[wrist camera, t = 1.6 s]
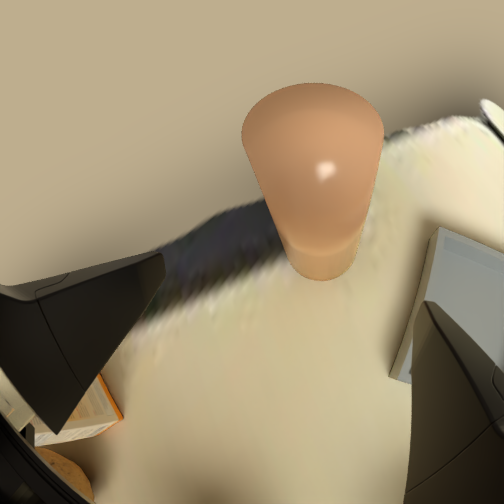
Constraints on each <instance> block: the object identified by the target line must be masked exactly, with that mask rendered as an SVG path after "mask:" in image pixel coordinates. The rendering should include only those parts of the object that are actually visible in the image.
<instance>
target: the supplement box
mask: <svg viewBox="0 0 504 504" xmlns="http://www.w3.org/2000/svg"><path fill="white" fill-rule="evenodd" d="M122 419H123V417H122V415H121V413H120V411H119V410H118V408H117V406H116V404H115V403H114V401H113V399H112V397H111V395H110V393H109V391H108V389H107V387H106V385H105V384H104V381H103V379H102V377H101V375H100V373H99V374H98V375H97V377H96V378H95V380H94V381H93V383H92V384H91V386H90V387H89V388H88V390H87V391H86V392H85V395H84V396H83V398H82V399H81V401H80V402H79V404H78V405H77V407H76V408H75V410H74V411H73V413H72V414H71V416H70V417H69V419H68V420H67V422H66V423H65V425H64V426H63V428H62V430H61V431H60V433H59V434H58V435H55V434H54V433H53V432H52V431H51V430H50V429H49V428H48V427H47V426H46V425H45V424H44V423H43V422H41V421H40V420H39V419H38V418H37V417H36V416H34V418H33V419H32V420H31V421H30V423H31V424H32V425H33V426H34V427H35V446H42V445H49V444H56V443H62V442H68V441H73V440H78V439H83V438H88V437H93V436H97V435H99V434H101V433H102V432H104V431H105V430H107V429H108V428H110V427H111V426H113V425H114V424H116V423H117V422H119V421H121V420H122Z"/></svg>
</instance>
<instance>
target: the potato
mask: <svg viewBox="0 0 504 504" xmlns="http://www.w3.org/2000/svg"><path fill="white" fill-rule="evenodd" d="M35 450H36V451H37V452H38V453H39V454H40V455H41V456H42V457H43V458H44V459H45V460H46V461H47V462H48V463H49V464H50V465H51V466H52V467H53V468H54V469H55V470H56V471H57V472H58V473H59V474H60V475H62V476H63V477H64V478H65V479H66V480H67V481H68V482H70V483H71V484H72V485H73V486H74V487H75V488H77V489H78V490H79V491H80V492H82V493H83V494H84V495H85V496H87V497H88V498H89V499H91V500H92V501H93V502H94V495H93V492H92V489H91V485H90V481H89V480H88V478H87V477H86V475H85V474H84V472H83V471H82V469H81V468H80V467H79V466H78V465H77V464H76V463H74V462H73V461H71V460H69V459H67V458H65V457H63V456H62V455H60V454H58V453H56V452H54V451H52V450H49V449H45V448H41V447H36V446H35Z"/></svg>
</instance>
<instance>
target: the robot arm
mask: <svg viewBox="0 0 504 504" xmlns="http://www.w3.org/2000/svg"><path fill="white" fill-rule="evenodd" d="M165 276H166V270H165V264H164V257H163V255H162V254H161V253H159V252H154V251H151V252H147V253H143V254H139V255H135V256H131V257H127V258H123V259H119V260H115V261H111V262H108V263H103V264H99V265H95V266H91V267H88V268H84V269H80V270H76V271H72V272H70V273H65V274H61V275H57V276H54V277H49V278H46V279H41V280H37V281H32V282H28V283H24V284H19V285H14V286H5V285H1V284H0V504H96V503H95V502H93V501H92V500H91V499H89V498H88V497H87V496H85V495H84V494H83V493H82V492H80V491H79V490H78V489H77V488H75V487H74V486H73V485H72V484H71V483H70V482H68V481H67V480H66V479H65V478H64V477H63V476H62V475H60V474H59V473H58V472H57V471H56V470H55V469H54V468H53V467H52V466H51V465H50V464H49V463H48V462H47V461H46V460H45V459H44V458H43V457H42V456H41V455H40V454H39V453H38V452H37V451H36V450H35V427H34V426H33V425H32V424H31V423H30V421H31V420H32V419H33V418H34V416H36V417H37V418H38V419H39V420H40V421H41V422H43V423H44V424H45V425H46V426H47V427H48V428H49V429H50V430H51V431H52V432H53V433H54V434H55V435H58V434H59V433H60V431H61V430H62V428H63V426H64V425H65V423H66V422H67V420H68V419H69V417H70V416H71V414H72V413H73V411H74V410H75V408H76V407H77V405H78V404H79V402H80V401H81V399H82V398H83V396H84V395H85V392H86V391H87V390H88V388H89V387H90V386H91V384H92V383H93V381H94V380H95V378H96V377H97V375H98V374H99V373H100V371H101V370H102V368H103V367H104V366H105V364H106V363H107V361H108V360H109V358H110V357H111V356H112V354H113V353H114V352H115V350H116V349H117V347H118V346H119V345H120V343H121V342H122V341H123V339H124V338H125V336H126V335H127V334H128V332H129V331H130V330H131V328H132V327H133V326H134V324H135V323H136V322H137V320H138V319H139V318H140V316H141V315H142V314H143V312H144V311H145V310H146V308H147V307H148V305H149V303H150V302H151V300H152V299H153V297H154V295H155V294H156V292H157V290H158V289H159V287H160V286H161V284H162V282H163V281H164V279H165ZM495 365H496V364H495V362H494V361H493V360H492V359H491V358H490V357H489V356H488V355H487V354H486V353H485V351H484V350H483V349H482V348H481V347H480V346H479V345H478V344H477V343H476V342H475V341H474V340H473V339H472V338H471V337H470V336H469V335H468V334H467V333H466V332H465V331H464V330H463V329H462V328H461V327H460V326H459V325H458V324H457V323H456V322H455V321H454V320H453V319H452V318H451V317H450V316H449V315H448V314H447V313H446V312H445V311H444V310H443V309H442V308H441V307H440V306H439V305H438V304H437V303H436V302H434V301H427V300H424V301H423V302H422V303H421V305H420V308H419V311H418V313H417V316H416V318H415V321H414V325H413V344H412V362H411V382H412V420H411V441H410V455H409V465H408V474H407V482H406V489H405V495H404V501H403V504H504V372H503V371H502V370H501V369H500V368H499V367H498V366H497V365H496V366H495Z"/></svg>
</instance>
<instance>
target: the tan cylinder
mask: <svg viewBox="0 0 504 504" xmlns="http://www.w3.org/2000/svg"><path fill="white" fill-rule="evenodd" d="M383 139H384V128H383V124H382V121H381V119H380V116H379V114H378V113H377V111H376V110H375V109H374V108H373V106H372V105H371V104H370V103H369V102H368V101H367V100H365V99H364V98H362V97H361V96H360V95H358V94H356V93H354V92H352V91H350V90H348V89H345V88H342V87H339V86H335V85H331V84H323V83H304V84H297V85H292V86H288V87H285V88H282V89H279V90H277V91H275V92H273V93H271V94H269V95H267V96H266V97H264V98H263V99H261V100H260V101H259V102H258V103H257V104H256V105H255V106H254V107H253V108H252V109H251V110H250V112H249V113H248V115H247V117H246V119H245V121H244V123H243V127H242V142H243V146H244V148H245V150H246V153H247V155H248V158H249V161H250V163H251V165H252V168H253V170H254V173H255V175H256V178H257V180H258V183H259V185H260V188H261V190H262V192H263V195H264V198H265V200H266V203H267V205H268V208H269V210H270V213H271V216H272V218H273V221H274V223H275V226H276V228H277V231H278V234H279V236H280V239H281V242H282V244H283V247H284V249H285V252H286V255H287V257H288V260H289V262H290V264H291V265H292V267H293V268H294V269H295V270H296V271H297V272H298V273H299V274H301V275H302V276H304V277H306V278H308V279H312V280H317V281H326V280H331V279H334V278H337V277H339V276H340V275H342V274H343V273H345V272H346V271H347V270H348V269H349V267H350V266H351V265H352V263H353V261H354V259H355V256H356V253H357V249H358V246H359V242H360V239H361V235H362V232H363V228H364V224H365V220H366V217H367V213H368V209H369V205H370V201H371V197H372V192H373V188H374V184H375V179H376V175H377V170H378V165H379V160H380V155H381V150H382V145H383Z"/></svg>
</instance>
